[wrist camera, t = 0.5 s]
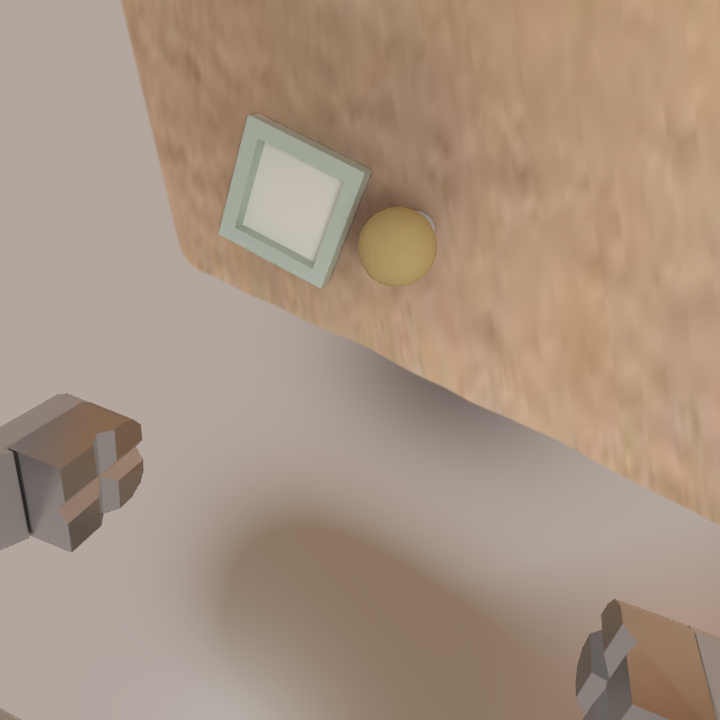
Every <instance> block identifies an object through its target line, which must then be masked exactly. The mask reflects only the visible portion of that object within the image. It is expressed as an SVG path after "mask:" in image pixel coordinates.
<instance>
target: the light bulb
mask: <svg viewBox="0 0 720 720" xmlns="http://www.w3.org/2000/svg"><path fill="white" fill-rule="evenodd" d="M435 232H436V231H435V225H434V222H433V220H432V219H431V217H430V216H429V215H428V214H426V213H424V212H422V211H418V210H413V209H410V208H406V207H390V208H386V209H384V210H381V211H379V212H377V213H376V214H375V215H373V216H372V217H371V218H370V219H369V220H368V221H367V222H366V224H365V225H364V227H363V229H362V231H361V233H360V237H359V244H358V247H359V255H360V260H361V262H362V265H363V267H364V269H365V271H366V272H367V273H368V275H369V276H370V277H371V278H372V279H374V280H375V281H377V282H379V283H381V284H384V285H388V286H405V285H409V284H412V283H414V282H416V281H418V280H419V279H421V278H422V277H423V276H424V275H425V274H426V273H427V272H428V271H429V270H430V268H431V266H432V264H433V262H434V259H435V256H436V249H437V243H436V236H435Z"/></svg>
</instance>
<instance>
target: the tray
mask: <svg viewBox="0 0 720 720" xmlns="http://www.w3.org/2000/svg"><path fill="white" fill-rule="evenodd" d="M371 173H372V170H371V169H369V168H367V167H365V166H363V165H361V164H359V163H357V162H355V161H353V160H351V159H349V158H347V157H345V156H343V155H341V154H339V153H337V152H335V151H333V150H331V149H329V148H327V147H325V146H323V145H321V144H319V143H317V142H315V141H313V140H311V139H309V138H307V137H305V136H303V135H301V134H299V133H297V132H295V131H293V130H291V129H289V128H287V127H285V126H283V125H281V124H279V123H277V122H275V121H273V120H271V119H269V118H267V117H265V116H263V115H261V114H250V115H248V117H247V121H246V125H245V129H244V133H243V137H242V141H241V145H240V149H239V153H238V157H237V161H236V165H235V169H234V173H233V177H232V181H231V185H230V189H229V194H228V198H227V202H226V206H225V210H224V214H223V218H222V222H221V226H220V230H219V235H221V236H223V237H224V238H226V239H228V240H230V241H232V242H234V243H236V244H238V245H239V246H241V247H243V248H245V249H247V250H249V251H251V252H253V253H254V254H256V255H258V256H260V257H262V258H264V259H266V260H268V261H270V262H271V263H273V264H275V265H277V266H279V267H281V268H283V269H285V270H286V271H288V272H290V273H292V274H294V275H296V276H298V277H300V278H302V279H303V280H305V281H307V282H309V283H311V284H313V285H315V286H317V287H318V288H320V289H321V288H322V287H324V286H325V285H326V284H327V283H329V281H330V279H331V276H332V273H333V271H334V268H335V266H336V263H337V260H338V258H339V255H340V253H341V250H342V248H343V245H344V242H345V240H346V237H347V235H348V232H349V230H350V227H351V224H352V222H353V219H354V217H355V214H356V211H357V209H358V206H359V204H360V201H361V199H362V196H363V193H364V191H365V188H366V186H367V183H368V181H369V178H370V175H371Z"/></svg>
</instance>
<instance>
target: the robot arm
mask: <svg viewBox="0 0 720 720" xmlns="http://www.w3.org/2000/svg"><path fill="white" fill-rule="evenodd" d="M141 441H142V431H141V425H140V424H139V423H137V422H136V421H135V420H133V419H131V418H128V417H126V416H123V415H121V414H118V413H116V412H113V411H111V410H108V409H106V408H103V407H101V406H98V405H96V404H93V403H91V402H86V401H84V400H82V399H79V398H77V397H74V396H72V395H70V394H59V395H56V396H54V397H52V398H51V399H49V400H47V401H45V402H43V403H42V404H40V405H38V406H36V407H35V408H33V409H31V410H29V411H28V412H26V413H24V414H22V415H21V416H19V417H17V418H16V419H14V420H12V421H10V422H8V423H7V424H5V425H3V426H1V427H0V550H2V549H4V548H6V547H9V546H11V545H14V544H16V543H18V542H21V541H23V540H25V539H28V538H29V535H31V536H33V537H36V538H38V539H40V540H43V541H45V542H48V543H50V544H53V545H55V546H58V547H60V548H62V549H65V550H67V551H70V552H73V551H74V550H75V549H76V548H77V547H78V546H79V545H81V544H82V543H83V542H84V541H85V540H86V539H87V538H88V537H89V536H90V535H91V534H93V533H94V532H95V531H96V530H97V529H98V528H99V527H100V526H101V525H102V519H103V514H104V513H107V512H110V511H113V510H116V509H119V508H121V507H122V506H123V505H124V504H125V503H126V502H127V501H128V500H129V499H130V498H131V497H132V496H133V494H134V492H135V490H136V489H137V487H138V486H139V484H140V482H141V478H142V474H143V458H142V457H141V455H140V454H139V452H138V450H137V449H136V446H137V445H138V444H139V443H140V442H141ZM601 618H602V619H601V620H602V630H600V631H597V632H594V633H591V634H590V635H589V636H588V638H587V640H586V642H585V644H584V646H583V648H582V651H581V654H580V658H579V661H578V665H577V673H576V700H577V701H578V703H579V705H580V707H581V708H582V710H583V712H584V713H585V717H584V718H583V720H720V637H719V636H716V635H713V634H711V633H708V632H705V631H702V630H700V629H697V628H694V627H691V626H686V625H684V624H682V623H680V622H677V621H674V620H671V619H669V618H666V617H663V616H660V615H658V614H655V613H652V612H649V611H646V610H644V609H641V608H638V607H636V606H633V605H630V604H627V603H624V602H622V601H619V600H616V599H614V600H612V601H611V602H610V603H608V604H607V606H606V608H605V609H604V611H603V612H602V614H601ZM0 720H21V719H19V718H17V717H16V716H14V715H12V714H10V713H8V712H6V711H4V710H3V709H1V708H0Z"/></svg>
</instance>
